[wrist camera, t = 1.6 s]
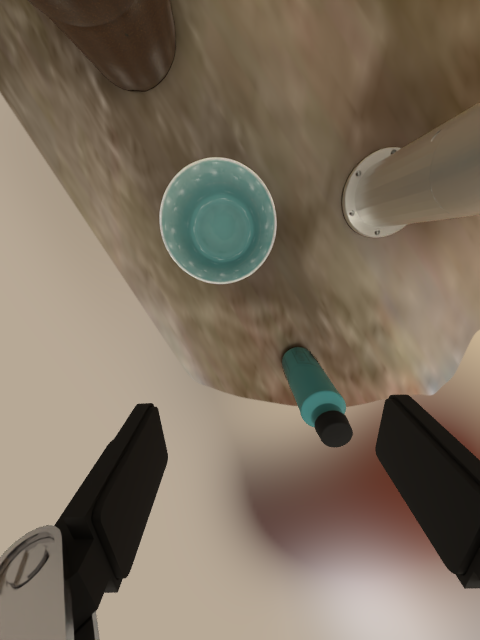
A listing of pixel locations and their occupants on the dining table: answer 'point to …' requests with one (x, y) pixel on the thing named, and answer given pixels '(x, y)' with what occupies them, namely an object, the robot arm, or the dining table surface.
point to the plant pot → (119, 36)
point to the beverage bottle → (317, 397)
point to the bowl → (218, 220)
